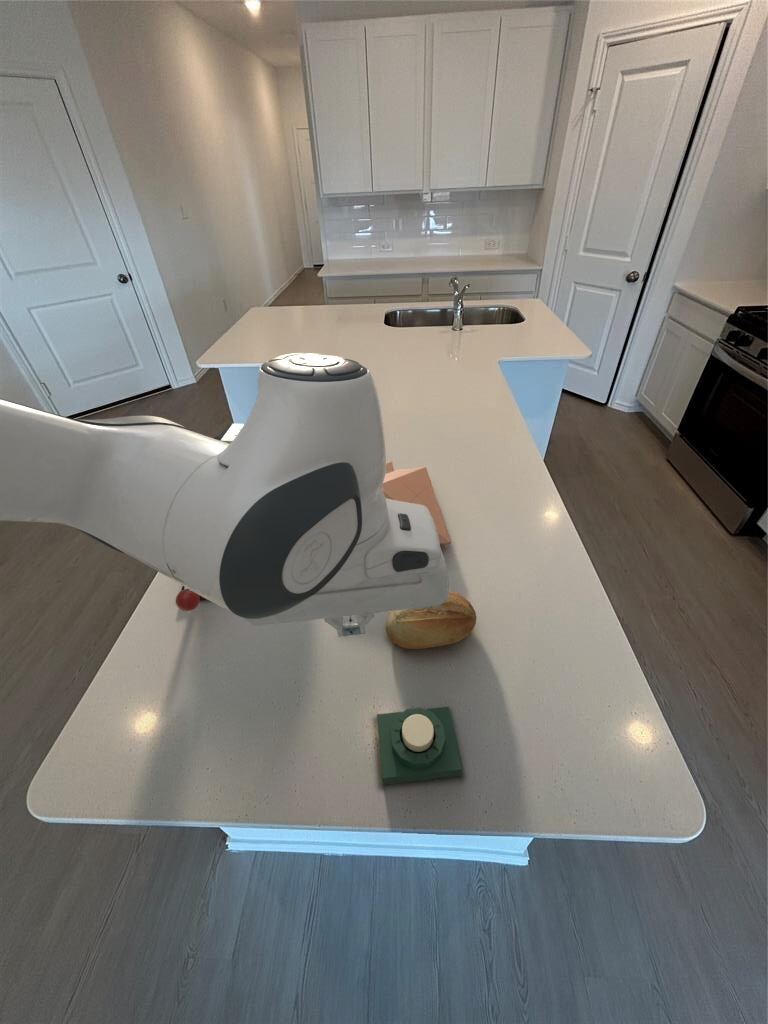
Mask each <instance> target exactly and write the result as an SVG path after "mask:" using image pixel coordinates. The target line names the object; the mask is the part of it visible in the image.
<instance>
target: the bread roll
mask: <svg viewBox="0 0 768 1024" xmlns="http://www.w3.org/2000/svg"><path fill="white" fill-rule="evenodd" d="M386 618H387V619H386V621H385V628H384V629H385V633H386V636H387V637H388V639H389V640H390V641H391V642H392V644H394V645H396V646H398V647H400V648H403V649H408V650H421V649H429V648H435V647H442V646H447V645H448V646H449V645H453V644H456V643H459V642H460V641H462V640H464V639H466V638H467V637H468V636H469V635H470V634H471V633H472V632H473V630H474V628H475V626H476V624H477V613H476V610H475V609H474V606H473V605H472V603H471V602H470V601H469V600H468V599H467V598H466V597H464V596H463V595H462V594H460V593H458V592H456V591H453V590H450V591H449V598H448V600H446V601H445V602H444V603H443V604H441V605H440V606H433V607H423V608H414V609H405V610H396V611H389V613H388V616H387V617H386Z"/></svg>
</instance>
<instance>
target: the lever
mask: <svg viewBox="0 0 768 1024" xmlns="http://www.w3.org/2000/svg"><path fill="white" fill-rule="evenodd" d="M181 590H182V589H181ZM181 590H180V591H179V592H178V593H177V594H176V597H175V604H176V606H177V608H178V609H179V610H180V611H184V612H191V611H193V610H195V609H196V608H197V607H198V606H199V605H200V603H201V600H200V596H199V595H198V594H196V593H195V592H193V591H191V590H189V589H187V588H186V587H184V590H182V591H181Z"/></svg>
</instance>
